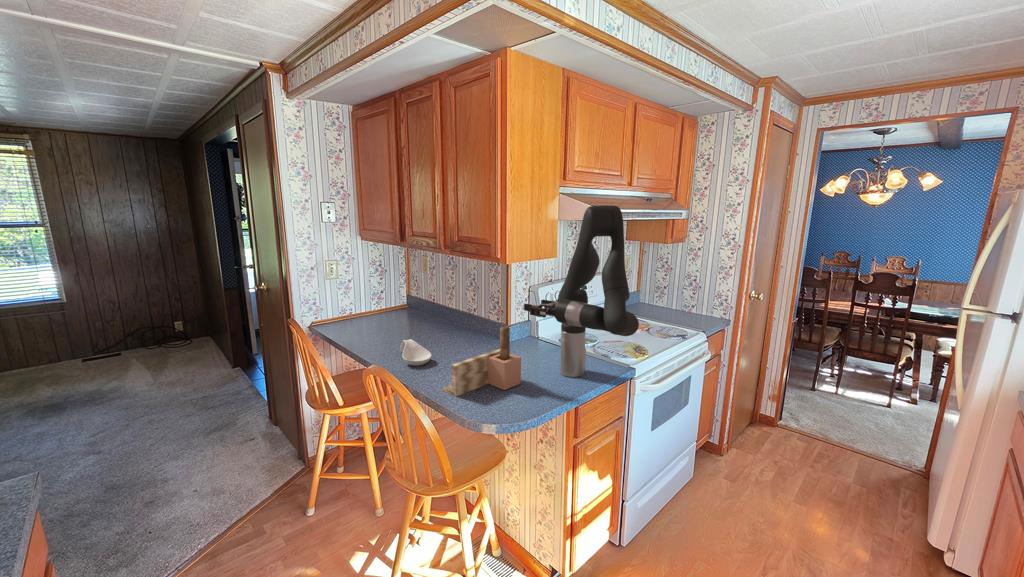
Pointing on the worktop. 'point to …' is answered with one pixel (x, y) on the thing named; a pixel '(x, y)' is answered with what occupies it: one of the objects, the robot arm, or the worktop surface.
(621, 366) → the worktop surface
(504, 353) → the dowel
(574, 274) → the robot arm
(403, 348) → the spoon rest
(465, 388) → the backstop wall
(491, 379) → the socket block
